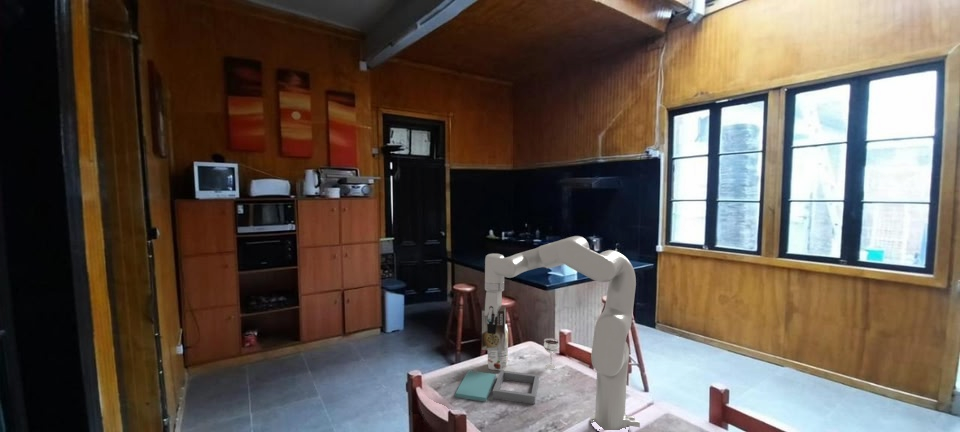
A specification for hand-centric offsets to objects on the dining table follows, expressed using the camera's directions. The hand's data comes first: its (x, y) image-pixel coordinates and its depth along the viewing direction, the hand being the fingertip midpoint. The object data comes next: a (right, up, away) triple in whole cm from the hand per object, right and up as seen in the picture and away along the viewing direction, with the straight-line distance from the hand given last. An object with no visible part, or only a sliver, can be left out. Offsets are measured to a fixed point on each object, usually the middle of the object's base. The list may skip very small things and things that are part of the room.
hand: (493, 329), depth 151 cm
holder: (+9, -24, +1) cm, 26 cm away
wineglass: (+26, -23, +20) cm, 40 cm away
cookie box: (0, -7, +1) cm, 8 cm away
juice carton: (+2, -23, +19) cm, 30 cm away
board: (-7, -24, +3) cm, 25 cm away
